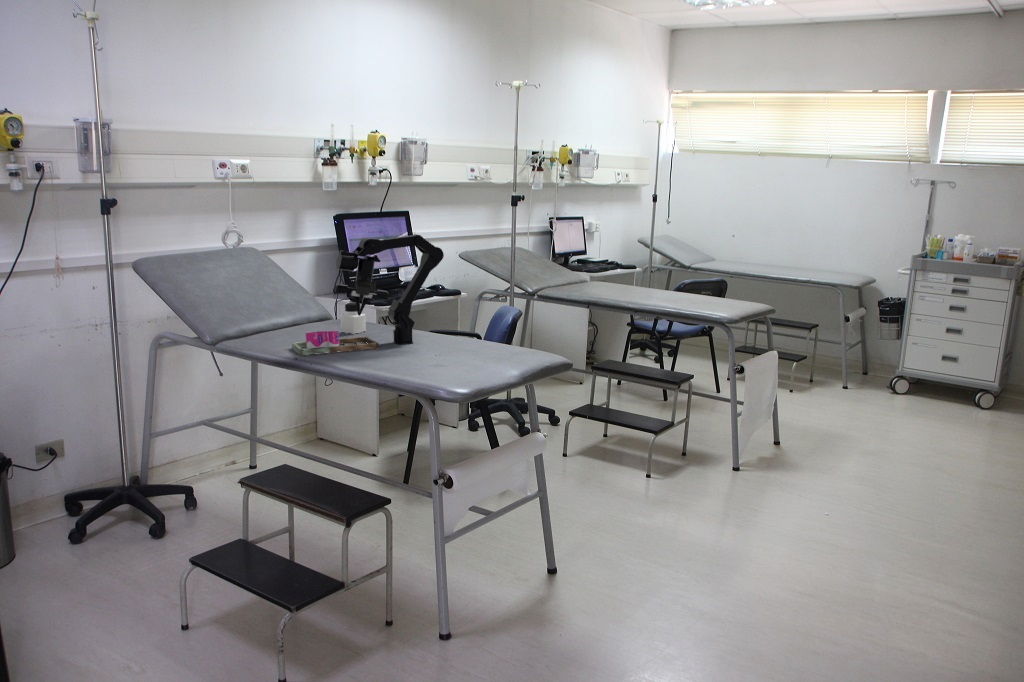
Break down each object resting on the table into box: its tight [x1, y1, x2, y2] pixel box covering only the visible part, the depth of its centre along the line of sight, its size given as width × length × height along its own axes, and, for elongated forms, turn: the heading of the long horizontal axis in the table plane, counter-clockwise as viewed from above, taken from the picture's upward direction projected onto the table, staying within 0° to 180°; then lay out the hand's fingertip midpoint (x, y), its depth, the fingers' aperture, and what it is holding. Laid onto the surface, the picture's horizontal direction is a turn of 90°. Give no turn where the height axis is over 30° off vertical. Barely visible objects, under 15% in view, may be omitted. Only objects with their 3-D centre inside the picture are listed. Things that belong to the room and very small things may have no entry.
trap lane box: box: [291, 336, 380, 357], centre depth 294 cm, size 28×14×2 cm, turn 117°
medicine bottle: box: [339, 301, 367, 335], centre depth 324 cm, size 7×7×12 cm
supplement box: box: [305, 330, 341, 349], centre depth 288 cm, size 6×6×12 cm
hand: (359, 315), depth 296 cm, fingers closed
